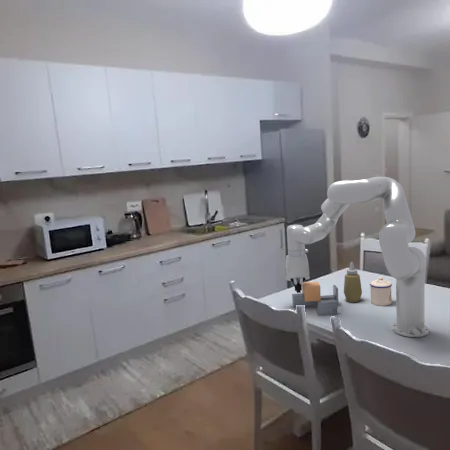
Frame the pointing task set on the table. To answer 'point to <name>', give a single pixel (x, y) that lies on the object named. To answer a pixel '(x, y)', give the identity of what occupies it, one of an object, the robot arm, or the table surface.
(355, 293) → the squeeze bottle
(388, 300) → the teacup with lid
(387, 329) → the table surface
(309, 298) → the block
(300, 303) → the rail
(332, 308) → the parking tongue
